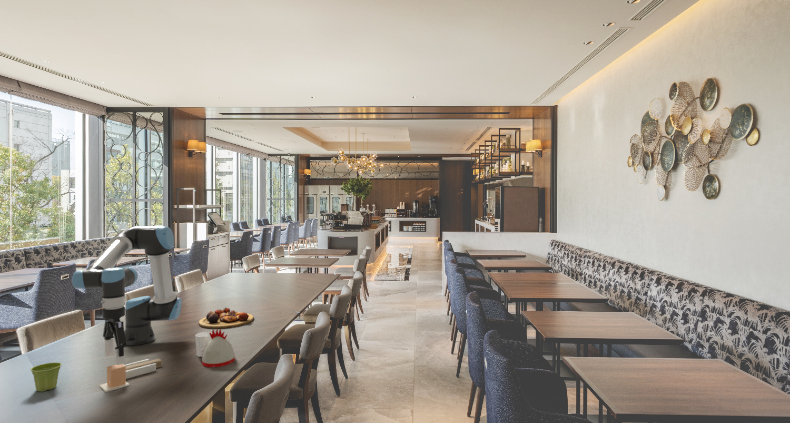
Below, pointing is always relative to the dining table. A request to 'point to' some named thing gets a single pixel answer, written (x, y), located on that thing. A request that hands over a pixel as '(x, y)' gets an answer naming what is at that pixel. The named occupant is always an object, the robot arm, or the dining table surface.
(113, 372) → the block
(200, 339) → the white cup
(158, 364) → the rod
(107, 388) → the coaster
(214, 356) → the white chicken figurine
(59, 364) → the plant pot
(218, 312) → the wooden plate with food
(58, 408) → the dining table surface
